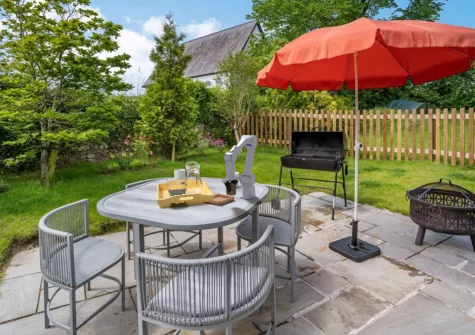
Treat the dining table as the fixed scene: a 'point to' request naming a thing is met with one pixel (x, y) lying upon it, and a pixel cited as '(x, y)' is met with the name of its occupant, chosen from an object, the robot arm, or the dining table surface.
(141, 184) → the dining table surface
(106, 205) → the dining table surface
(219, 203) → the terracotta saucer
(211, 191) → the dining table surface
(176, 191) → the food container
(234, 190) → the walnut block
